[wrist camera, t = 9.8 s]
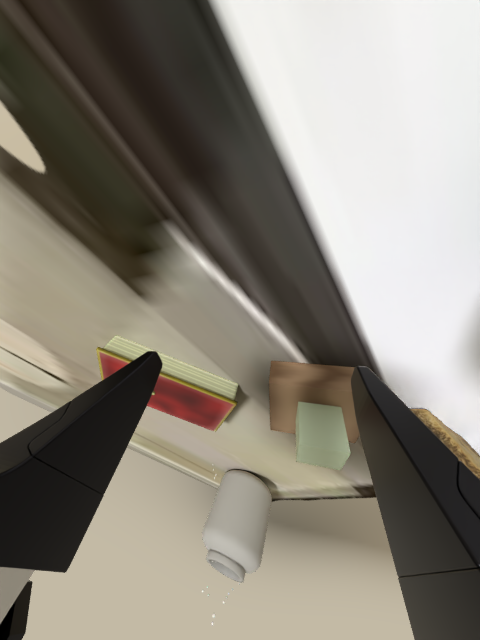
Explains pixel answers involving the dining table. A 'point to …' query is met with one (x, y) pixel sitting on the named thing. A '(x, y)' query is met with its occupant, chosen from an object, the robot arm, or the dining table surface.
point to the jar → (237, 525)
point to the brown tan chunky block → (451, 440)
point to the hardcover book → (176, 385)
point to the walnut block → (310, 393)
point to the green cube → (321, 436)
